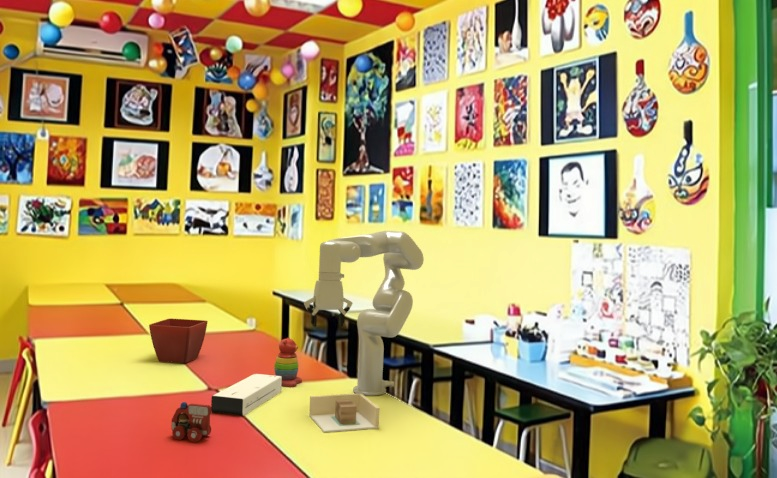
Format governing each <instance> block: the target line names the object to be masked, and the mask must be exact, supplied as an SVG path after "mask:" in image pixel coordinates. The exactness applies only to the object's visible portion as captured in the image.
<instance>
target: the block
mask: <svg viewBox="0 0 777 478" xmlns="http://www.w3.org/2000/svg"><path fill="white" fill-rule="evenodd" d="M335 418H336V419H337V420H338V422H339V423H340V424H355V423H356V405H355V404H354V403H353V402H352V401H351V400H336V403H335Z"/></svg>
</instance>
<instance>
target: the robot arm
mask: <svg viewBox="0 0 777 478" xmlns="http://www.w3.org/2000/svg"><path fill="white" fill-rule="evenodd" d="M382 254H383V265H384V277H383V280H382V282H381V284H380V285H379V287H378V289H377V291H376V293H375V295H374V297H373V298H372V307H373V308H374V309H372V308H368V309H364V310H362V311H360V313H359V314H358V315H357V321H356V326H357V333H358V361H357V363H358V364H357V385H355V386H353V388H352V392H353V393H354V394H357V393H362V394H363V395H364V396H368V397H369V396H382V395H384V394H386V392H387V387H389V388H390V387H394V386H395V382H394V381H389V380H384V379H383V372H384V371H383V370H384V369H383V368H384V350H385V348H384V342H383V339H382V337H383V338H395V337H396V336H398V334H400V332H401V330H402V329H403V326H404V325H405V323H406V322H407V319H408V318H409V315H410V313H411V311H412V309H413V302H414V301H413V296H412V294H411V292H409V291H407V290H406V289H404V287H405V278H404V276H403V274H402V273H403V272H402V271H401V270H410V271H415V270H420V268H422V267H423V264H424V259H425V258H424V253H423V252H422V250H421V249H420V247H419V246H418V244H417V243H416V242H415V241H414V239H413V238H412V237H411V236H410V235H409V234H408V233H406V232H405V231H397V230H381V231H377V232H373V233H368V234H360V235H354V236H346V237H338V238H333V239H329V240H327V241H323V242H321V243H320V245H319V260H318V261H319V265H318V267H319V268H318V280H316V281H315V284H314V290H313V297H312V298H309V299H307V300H306V301H304V302H303V305H304V307H305V309H306V311H308V313H310V324H311V325H312V327H314V328H316V327H317V318H318V316H317V313H318V312H319V311H339V314H338V325H339V326H340V327H343V326H344V324H345V316H346V315H347V313H348V312H349V311H350V309H351V307H352V306H353V301H351V300H349V299H348V298H345V297H344V287H343V281H342V278H345V274H344V273H341V267H342V266H341V265H342V263H348V264H350V263H351V264H352V263H355V262H356V261H358V260H359V258H370V257H371V258H372V257H375V256H379V255H382ZM344 303H345V304H346V306H345V307H344ZM310 304H312V307H313V308H311V307H310Z"/></svg>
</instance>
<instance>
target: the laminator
mask: <svg viewBox="0 0 777 478" xmlns="http://www.w3.org/2000/svg"><path fill="white" fill-rule="evenodd" d="M282 387H283V386H282V376H275V375H273V374H262V373H253V374H252V375H250V376H248V377H245V378H244V379H242V380H240V381H238V382H236V383H234V384H232V385H231V386H229V387H226V388H225V389H222V390H221V391H218V392H217V393H215V394H213V395H212V396H211V401H210V402H211V405H210V406H211V413H213V412H214V413H215V414H222V415H223V414H224V415H233V416H242V417H244V416H245V415H247V414H248V413H250V412H251V411H253V410H255V409H256V408H258V407H260V406H261V405H263V404H264V403H266V402H267V401H269V400H270V399H273V398H274V397H275V396H277V395H278V394H280V393H281V392H282ZM214 413H213V414H214Z"/></svg>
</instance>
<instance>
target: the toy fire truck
mask: <svg viewBox="0 0 777 478" xmlns="http://www.w3.org/2000/svg"><path fill="white" fill-rule="evenodd" d="M211 415H212V412H211V405H208V404H199V403H189V404H188V403H187V401H185V402H181V403H180V407H178V408H176V410H175V412H174V414H173V416H172V418H171V430H172V433H171V435H172V437H173V438H174V439H175V440H177V441H182V440H183V439H185V438H186V436H187V438H188V440H189V441H190V442H191V443H197V442H199V441H201V439H202V436H204V437H207V436H210V434H211V433H212V427H211Z"/></svg>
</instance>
